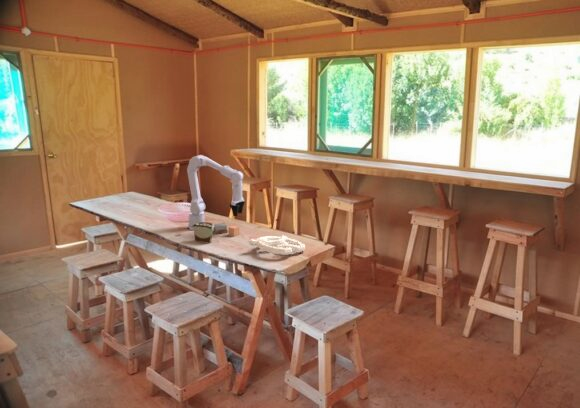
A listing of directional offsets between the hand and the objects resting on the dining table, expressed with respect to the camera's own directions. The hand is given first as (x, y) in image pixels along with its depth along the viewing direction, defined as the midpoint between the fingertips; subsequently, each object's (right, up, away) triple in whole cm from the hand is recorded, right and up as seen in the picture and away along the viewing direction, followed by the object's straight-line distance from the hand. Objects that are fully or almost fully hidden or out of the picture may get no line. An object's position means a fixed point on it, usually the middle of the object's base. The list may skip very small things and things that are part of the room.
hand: (237, 214), depth 261 cm
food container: (-16, -14, -17) cm, 27 cm away
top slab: (-10, -8, -1) cm, 13 cm away
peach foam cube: (-1, -12, -7) cm, 14 cm away
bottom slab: (-10, -11, 0) cm, 15 cm away
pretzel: (+25, -18, -31) cm, 44 cm away
